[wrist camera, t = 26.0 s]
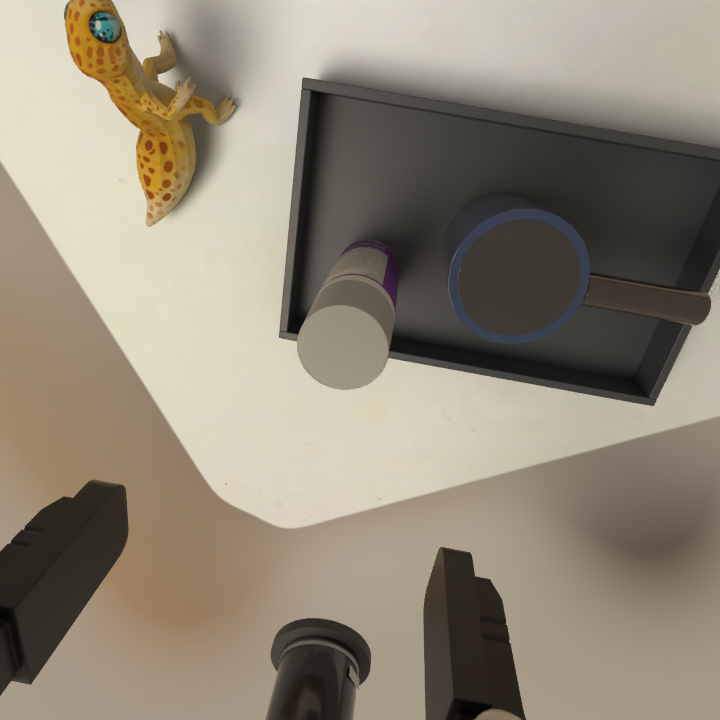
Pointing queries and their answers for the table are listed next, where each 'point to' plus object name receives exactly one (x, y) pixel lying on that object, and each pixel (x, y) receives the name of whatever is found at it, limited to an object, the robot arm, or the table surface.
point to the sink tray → (498, 175)
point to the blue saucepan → (539, 274)
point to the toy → (142, 100)
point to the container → (352, 318)
